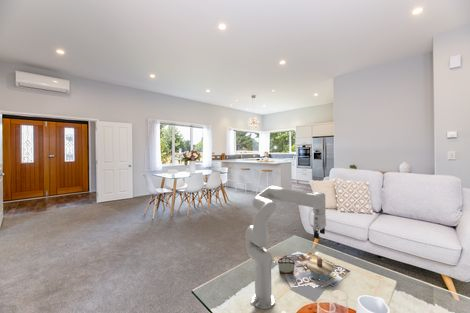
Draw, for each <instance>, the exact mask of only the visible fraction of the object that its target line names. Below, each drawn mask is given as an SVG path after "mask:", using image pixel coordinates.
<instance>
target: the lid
mask: <svg viewBox="0 0 470 313" xmlns="http://www.w3.org/2000/svg"><path fill="white" fill-rule="evenodd" d="M306 266H307V268H308V271H309V272H310V271H312V272H314V273H316V274H320V275H328V274H330V275H331V274H332V273H333V269H334V268H333V266H332V265H331V264H330V263H329V262H328V261H325V260H323V259H322V257H317V258H316V259H311V260H309V261H308V262H307V264H306Z"/></svg>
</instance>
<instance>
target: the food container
mask: <svg viewBox="0 0 470 313" xmlns="http://www.w3.org/2000/svg"><path fill="white" fill-rule="evenodd" d="M277 265H278V273H279V275H285V274H294V275H295V273H294V272H295V266H296V262H295V260H294V259H293V258H291V257H285V256H283V257H280V258H278V260H277Z"/></svg>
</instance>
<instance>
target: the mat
mask: <svg viewBox="0 0 470 313" xmlns="http://www.w3.org/2000/svg"><path fill="white" fill-rule="evenodd" d="M321 286H322V285H321ZM321 286H318V287H315V288H313V287H312V286H310V285H307V286H305V285H304V286H298V287H293V286H291V288H290V290H289V291H292V292H294V293H296V294H299V295H300V296H302V297H304V298H306V299H308V300H310V301H312V302H314V303H316V302H317V301H318V300H319V298H320V297H321V295H322V294H323V293H324V291H325V290H326V289H327V288H326V287H325V286H323V287H321Z"/></svg>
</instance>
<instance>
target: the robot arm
mask: <svg viewBox="0 0 470 313" xmlns="http://www.w3.org/2000/svg"><path fill="white" fill-rule="evenodd" d="M273 200H274V201H273ZM275 201H276V202H279V203H286V204H292V205H298V206H301V207H307V208H308V207H309V208H313V227H312V229H313V230H312V231H313V238H314V239H317V240H319V239H320V234H322V235H325V234H326V226H327V219H326V216H327V215H326V194H325V193H324V192H322V191H321V192H320V191H316V192H304V191H300V190H297V189H290V188H285V187H280V186H276V185H270V186H268V187H267V188H265V189H264V190H262V191H261V192H260V193H258V194H257V195H256V196H254V198H253V201H252V207H253V208H254V209H255V210H256V211H257V213H255V215H254V216H253V219H252V224H251V225H249V226H248V227H247V229H245V230H246V231H245V235H244V236H245V247H246V248H245V249H246V254H247V255H248V256H249V258H251V260H253V261H254V262H255V264H256V265H255V268H254V295H253V296H252V301H251V302H250V306H251V307H254V306H255V307H256V308H258V309H261V310H268V309H271V308H272V307H274V305H275V297H274V295H273V292H272V264H273V255H272V252H271V251H270V250H269V249H267V246H268V245H269V242H270V241H269V240H270V238H269V237H270V236H269V220H270V218H271V217H272V216H273V215H274V214H275V212H276V210H277V204H276V202H275Z"/></svg>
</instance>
